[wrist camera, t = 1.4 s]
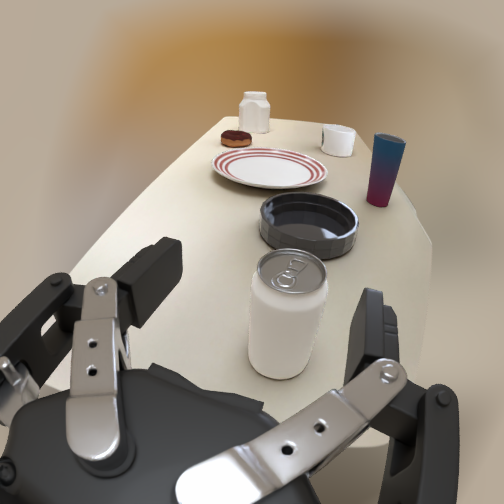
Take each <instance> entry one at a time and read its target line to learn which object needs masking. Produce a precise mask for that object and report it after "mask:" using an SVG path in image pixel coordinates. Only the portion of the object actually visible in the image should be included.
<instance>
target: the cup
mask: <svg viewBox="0 0 504 504" xmlns="http://www.w3.org/2000/svg"><path fill="white" fill-rule="evenodd" d="M405 144H406V141H405V140H404V139H401V138H399V137H397V136H394V135H390V134H385V133H375V135H374V145H373V154H372V163H371V171H370V178H369V185H368V192H367V201H368V202H369V203H370V204H372V205H374V206H378V207H386V206H387V205H388V202H389V199H390V196H391V193H392V190H393V187H394V183H395V180H396V177H397V173H398V170H399V166H400V163H401V159H402V155H403V152H404V148H405Z"/></svg>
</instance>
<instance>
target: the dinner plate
mask: <svg viewBox="0 0 504 504" xmlns="http://www.w3.org/2000/svg"><path fill="white" fill-rule="evenodd" d="M211 165H212V167H213V169H214V170H215V171H216V172H217V173H219V174H220V175H222V176H224V177H226V178H228V179H230V180H232V181H235V182H238V183H241V184H245V185H250V186H254V187H259V188H266V189H287V188H297V187H303V186H308V185H312V184H316V183H318V182H320V181H322V180H324V179H325V178H326V176H327V169H326V167H325V166H324V165H323V164H322V163H320V162H319V161H317V160H315V159H313V158H311V157H309V156H306V155H304V154H301V153H297V152H294V151H289V150H284V149H278V148H267V147H248V148H238V149H232V150H228V151H225V152H222V153H220V154H218V155H216V156H215V157H214V158H213V159H212V162H211Z"/></svg>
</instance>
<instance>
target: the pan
mask: <svg viewBox="0 0 504 504" xmlns="http://www.w3.org/2000/svg"><path fill="white" fill-rule="evenodd" d="M358 227H359V222H358V217H357V215H356V214H355V213H354V211H353V210H352V209H351V208H349V207H348V206H347V205H345V204H344V203H342V202H340V201H338V200H336V199H334V198H331V197H327V196H324V195H321V194H315V193H309V192H289V193H281V194H278V195H275V196H272V197H270V198H269V199H267V200H266V201H265V202H263V204H262V206H261V208H260V219H259V228H260V233H261V236H262V237H263V238H264V239H265V241H266V242H267V243H268V244H270V245H271V246H273V247H274V248H276V249H277V250H278V249H298V250H302V251H305V252H308V253H310V254H312V255H314V256H316V257H317V258H318V259H329V258H333V257H337V256H340V255H343V254H344V253H346V252H347V251H349V250H350V249H351V248H352V246H353V244H354V242H355V239H356V235H357V231H358Z"/></svg>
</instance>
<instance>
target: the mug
mask: <svg viewBox="0 0 504 504" xmlns="http://www.w3.org/2000/svg"><path fill="white" fill-rule="evenodd" d="M355 134H356V131H355V130H353V129H351V128H348V127H344V126H340V125H324V126H323V133H322V147H321V150H322V151H323V152H324V153H326V154H329V155H332V156H337V157H349V156H351V154H352V149H353V144H354V139H355Z"/></svg>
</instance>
